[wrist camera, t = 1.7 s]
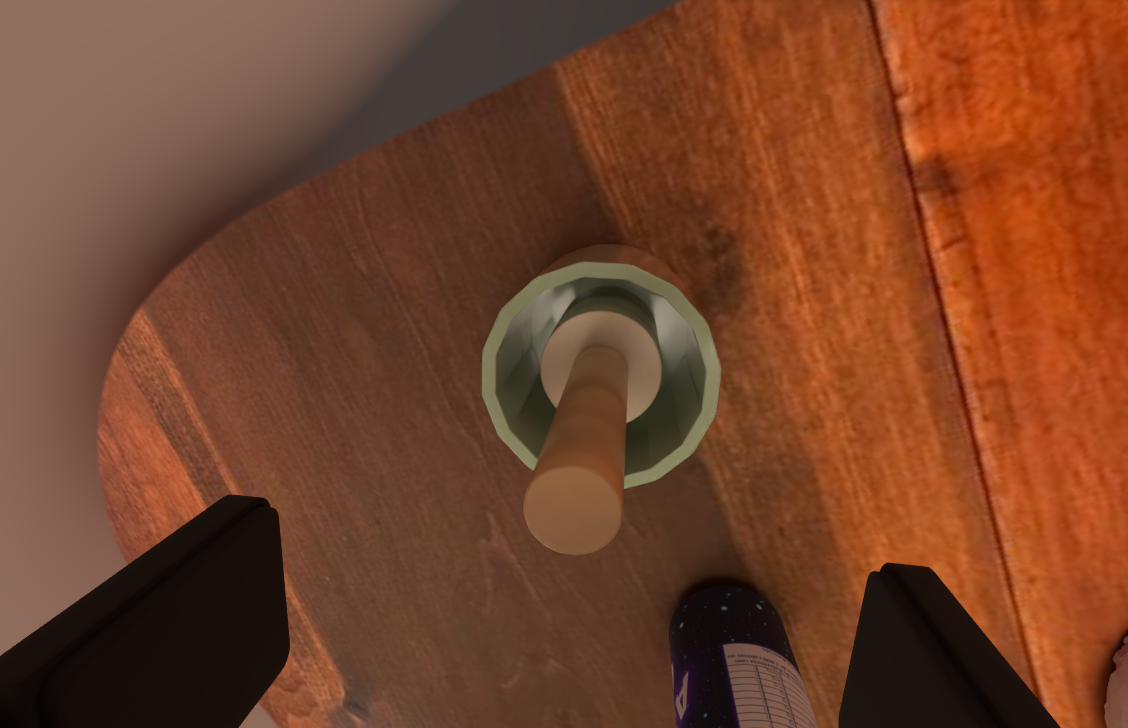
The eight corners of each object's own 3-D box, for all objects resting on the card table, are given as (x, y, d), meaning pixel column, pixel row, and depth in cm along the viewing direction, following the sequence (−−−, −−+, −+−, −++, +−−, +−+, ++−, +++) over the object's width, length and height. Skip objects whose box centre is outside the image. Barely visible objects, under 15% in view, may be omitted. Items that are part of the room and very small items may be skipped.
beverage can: (659, 581, 31) (673, 808, 19) (772, 568, 30) (856, 798, 19) (678, 671, 32) (701, 933, 21) (786, 661, 31) (873, 930, 20)
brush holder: (525, 239, 27) (482, 255, 19) (705, 248, 26) (734, 270, 19) (521, 405, 29) (480, 479, 22) (687, 419, 28) (705, 501, 21)
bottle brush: (561, 282, 27) (463, 397, 11) (661, 289, 26) (696, 417, 11) (557, 376, 28) (464, 594, 13) (652, 384, 28) (673, 618, 12)
